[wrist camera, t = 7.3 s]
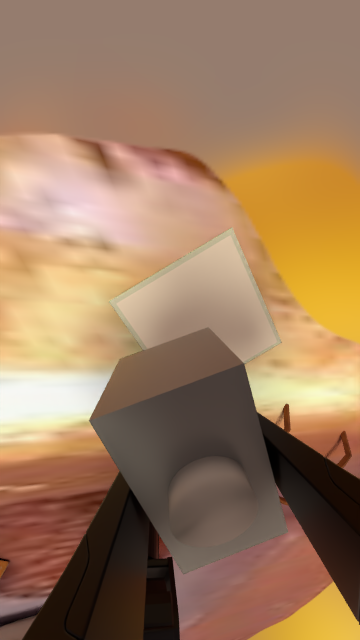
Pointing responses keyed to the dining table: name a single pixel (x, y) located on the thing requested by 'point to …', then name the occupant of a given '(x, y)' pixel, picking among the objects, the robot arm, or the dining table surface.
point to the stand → (201, 301)
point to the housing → (192, 448)
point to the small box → (3, 567)
